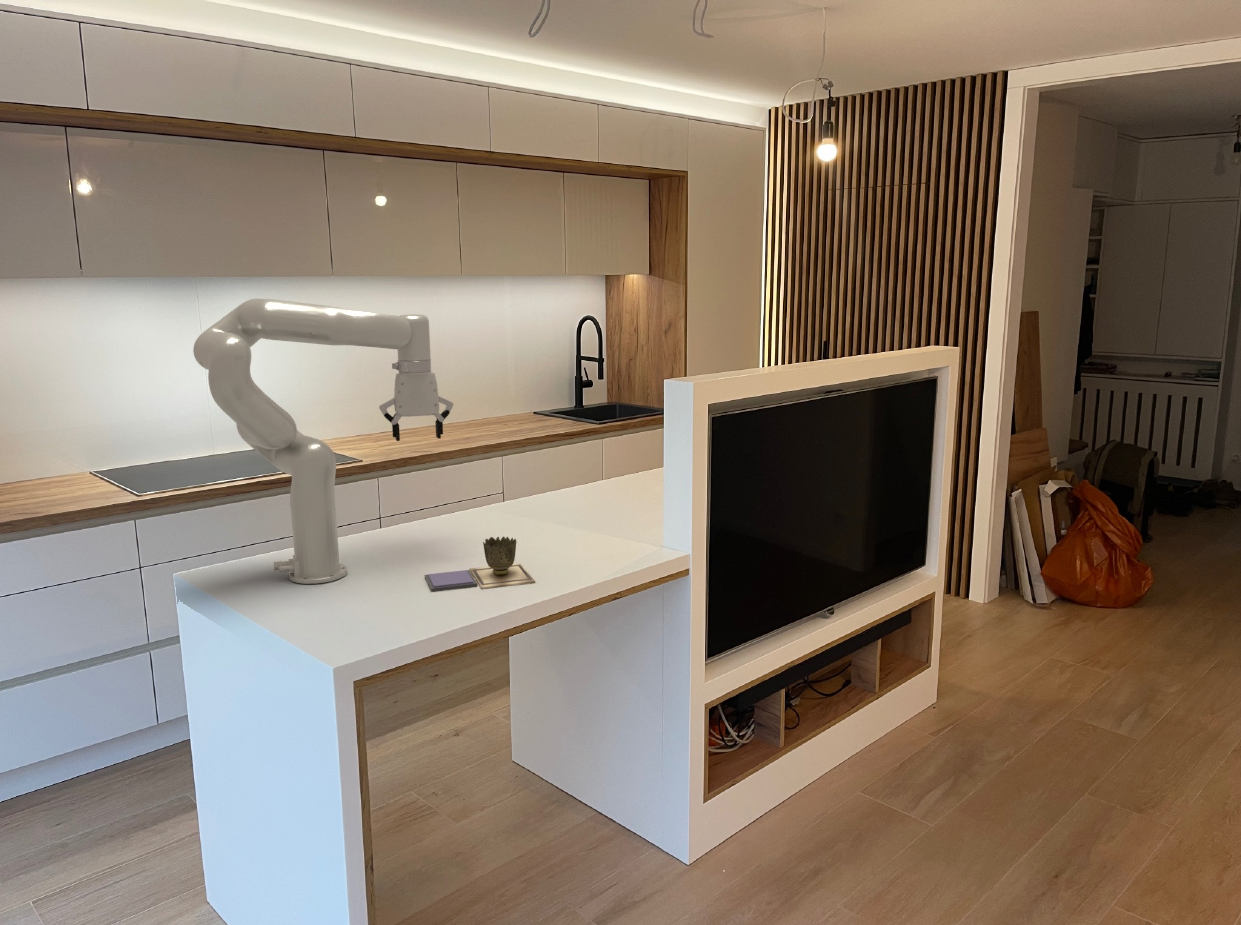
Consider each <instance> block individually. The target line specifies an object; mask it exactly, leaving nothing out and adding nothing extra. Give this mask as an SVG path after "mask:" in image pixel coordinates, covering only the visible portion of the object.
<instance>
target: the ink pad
mask: <svg viewBox="0 0 1241 925" xmlns="http://www.w3.org/2000/svg"><path fill="white" fill-rule="evenodd" d="M424 579H425V581H426V584H427V586H428V589H429V590H430V593H433V592H441V591H442V592H443V591H449V590H450V591H451V590H459V589H467V588H477V587H478V583H477V581H476V580H475V578H474V577H473V575H472V573H471V572H470V570H469V569H463V570H455V571H454V570H453V571H446V572H445V571H443V572H437V573H429V574H428V573H427V574H424ZM476 586H477V587H476Z"/></svg>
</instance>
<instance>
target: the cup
mask: <svg viewBox="0 0 1241 925" xmlns="http://www.w3.org/2000/svg"><path fill="white" fill-rule="evenodd" d="M500 538H501V539H500ZM484 541H485V542H484ZM484 541H483V542H482V544H483V552H484V556H485V561H486V563H487V565H488V566H489V567H490V568H492V569H493V571H492V572H493V574H494V575H495V576H505V575H507V574H508V573H509V569H508V568H510V567H511V566H512V565H513V564H515V559H516V550H517V539H516V538H513V537H511V538H509V537H508V536H506V537H505V536H502V537H499V536H497V537H496V538H494V537H493V536H490V538H485V539H484ZM488 566H487V567H488Z"/></svg>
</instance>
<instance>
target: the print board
mask: <svg viewBox="0 0 1241 925" xmlns="http://www.w3.org/2000/svg"><path fill="white" fill-rule="evenodd" d="M508 569H509V573H508V574H507V575H505V576H495V575H494V574H493V572H492V571H493V569H492V568H490V567H489V566H481V567H472V568H468V570H469V571H470V573H471V574H472V576H473V578H474V579H475V581H476V582H477V585H478V586H479V587H480V589H481V590H485V589H484V588H487V589H493V588H503V586H504V587H512V586H519V585H520V586H521V585H528V584H527V583H530V584H536V580H535V579H534V578H533V576H532V575H531V574H530V573H529V571H528V570H527V569H526V568H525V567H524V565H523V564H522V563H521V562H517V563H516V562H515V563H513V565H512V566H511V567H510V568H508Z"/></svg>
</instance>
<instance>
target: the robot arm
mask: <svg viewBox="0 0 1241 925" xmlns="http://www.w3.org/2000/svg"><path fill="white" fill-rule="evenodd" d="M430 338H431V337H430V321H429V318H428V316H427V315H424V314H415V313H413V314H401V315H394V314H393V315H392V314H385V313H376V312H368V311H359V310H352V309H347V308H341V307H339V306H331V305H323V304H315V303H308V302H307V303H305V302H298V301H291V300H284V299H283V300H281V299H275V298H274V299H272V298H251V299H247V300H246V301H244V302H242V303H241V304H239V305H238V306H236V307H235V308H234V309H232V310H231V311H230V312H228V313H227V314H226V315H225V316H223V317H222V318H221V319H219V320H218V321H216V322H215V323H213V324H212V325H211V326H210V327H208V328H207V329H206V330H204V331H203V332H202V333H201V334H200V335H198V337H197V338H196V340H195V342H194V344H193V350H192V351H193V352H192V354H193V357H194V358H195V360H196V362H197V363H198V365H199V366H201V367H202V368H204V369H205V370H207V371H208V373H207V374H208V376H207V377H208V386H209V391H210V394H211V396H212V398H213V400H214V402H215V404H216V405H217V406H218V407H219V408H220V410H222V411H223V413H225V414H226V415H227V416H228V417H229V418H230V419H231V420H232V421H233V422H234V423H236V424H235V426H236V430H237V433H238V434H239V436H240V437H241V439H242V440H243V441H244V442H245V443H246V444H248V446H250V447H251V448H252V449H253V450H255V451H256V452H257V453H258V454H259V455H260V456H262V457H263V458H264V459H266V460H267V461H268V462H269V463H271V465H272V466H274V467H275V468H276V469H278V470H279V471H280V472H283V473H284V474H287V475H288V476H291V484H290V485H291V486H290V491H289V493H290V494H289V502H290V503H289V505H290V515H291V528H292V529H291V530H292V541H293V552H294V553H293V555H292V558H291V559H290V558H289V559H288V560H287V561H286V560H285V561H283V560H282V561H281V560H280V561H273V569H274V570H273V571H279V573H281V572H282V573H284V572H288V578H289V580H290V582H291V581H292V582H293V583H297V584H306V585H307V584H309V585H310V584H311V585H312V584H313V585H315V584H323V583H329V582H333V581H336V580H339V579H342V578H343V577H345V576H346V575H347V573H348V569H347V566H346V565H345V564H342V563H340V554H339V551H340V550H339V540H338V538H339V536H338V527H337V526H338V525H337V524H338V522H337V508H336V494H335V492H336V491H335V488H336V487H335V486H336V485H335V481H336V475H337V474H336V472H337V460H336V456H335V452H334V451H333V449H332V448H331V447H330V446H329V445H328V444H327V443H326V442H324V441H323V440H320V439H318V438H316V437H315V438H314V437H311V436H308V435H305V434H303V433H302V432H300V431H299V430H298V429H297V424H296V421H295V419H294V418H293V417H292V416H291V414H290V413H289V412H287V411H286V410H285V409H284V408H283V407H281V406H280V405H279V404H277V403H276V402H275V401H274V399H272V398H271V397H270V396H269V395H267V394H266V393H265V392H264V391H263V390H262V389H261V388H260V387H259V386H258V385H257V384H256V382H255V381H254V380H253V377H252V376H251V375H252V374H251V364H252V349H251V347H253V346H254V345H255V344H256V343H258V342H259V341H260V340H261V339H262V340H263V339H265V340H270V341H281V342H293V343H301V344H302V343H304V344H311V345H312V344H315V345H322V346H323V345H327V346H357V347H368V348H380V349H389V350H390V349H391V350H397V361H396V362H394V363H391V370H397V371H398V373H395V378H394V389H393V390H394V392H393V393H394V394H393V395H394V397H392V398H391V399H389V400H387V401H386V402H384V403H382V404H380V405H379V406H378V408H379V410H380V412H381V413H382V415H383V418H385V419H386V420H387V421H388V422H390V424H391V429H392V437H393V438H395V441H396V442H399V441H400V440H401V437H400V436H401V434H400V424H399V421H400V420H401V418H404V417H406V418H407V417H408V418H409V417H426V416H433V417H435V418H436V420H435V421H434V422H435V437H436V438H437V439H438V440H439V439H441V438H442V435H444V425H443V424H444V423H443V422H444V421H445V420H446V419H447V417H448V416H449V415H450V413H451V411H452V409H453V407H454V402H452V401H450V400H448V399H446V398H443V397H441V396H439V390H438V389H439V388H438V383H437V376H436V374H435V372H432V358H431V341H430V340H431V339H430ZM440 404H441V405H442V404H443V405H445V408H444V410H443V411H442V412H441V413H439V412H440ZM393 406H394V412H395V413H394V414H393V416H392V415H391V414H390V413H389V411H388V409H389V408H390V407H393Z"/></svg>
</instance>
